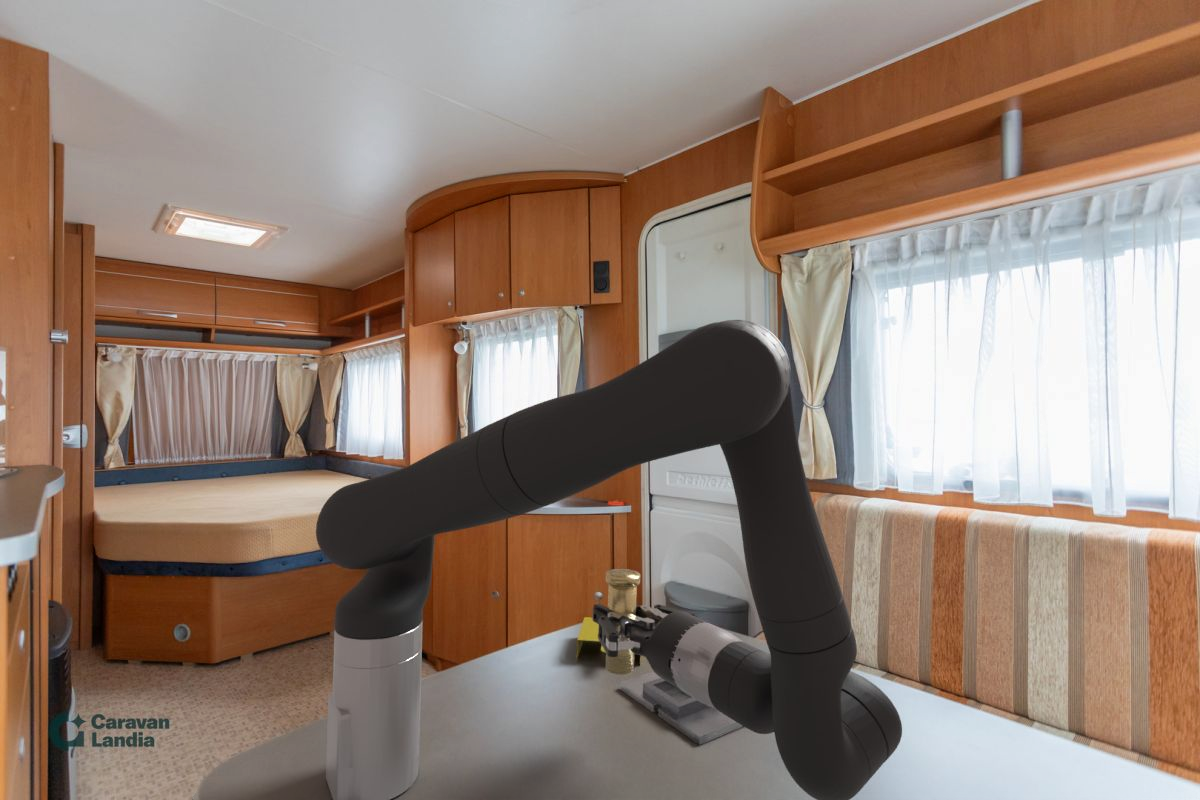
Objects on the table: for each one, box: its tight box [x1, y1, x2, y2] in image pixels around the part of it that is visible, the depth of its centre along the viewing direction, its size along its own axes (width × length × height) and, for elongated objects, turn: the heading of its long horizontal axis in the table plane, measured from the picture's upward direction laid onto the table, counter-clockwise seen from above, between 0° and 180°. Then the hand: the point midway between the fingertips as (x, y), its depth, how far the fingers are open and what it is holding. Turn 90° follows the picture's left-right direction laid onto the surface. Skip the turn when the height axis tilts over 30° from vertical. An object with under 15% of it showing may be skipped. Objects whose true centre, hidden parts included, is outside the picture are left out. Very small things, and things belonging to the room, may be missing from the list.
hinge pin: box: [605, 568, 641, 675], centre depth 74 cm, size 4×4×12 cm
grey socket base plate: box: [618, 671, 744, 746], centre depth 82 cm, size 9×17×2 cm, turn 34°
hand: (608, 609), depth 77 cm, fingers closed on hinge pin, 3 cm apart
